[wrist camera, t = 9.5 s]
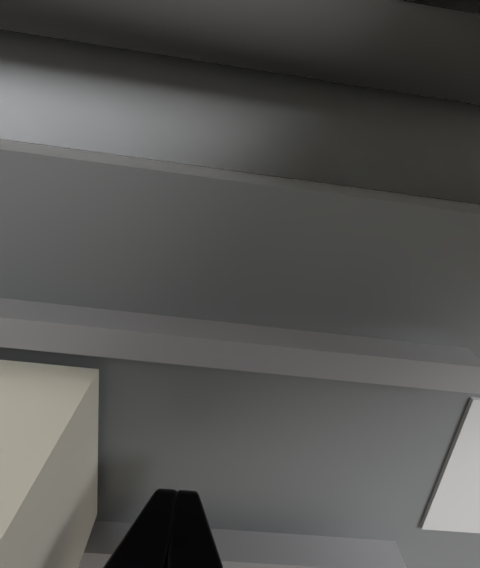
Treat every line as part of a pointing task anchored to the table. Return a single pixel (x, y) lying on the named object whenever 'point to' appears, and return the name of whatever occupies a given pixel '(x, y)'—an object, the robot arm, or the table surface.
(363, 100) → the table surface
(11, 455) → the toggle
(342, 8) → the grey rounded rod
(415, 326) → the grey tray
